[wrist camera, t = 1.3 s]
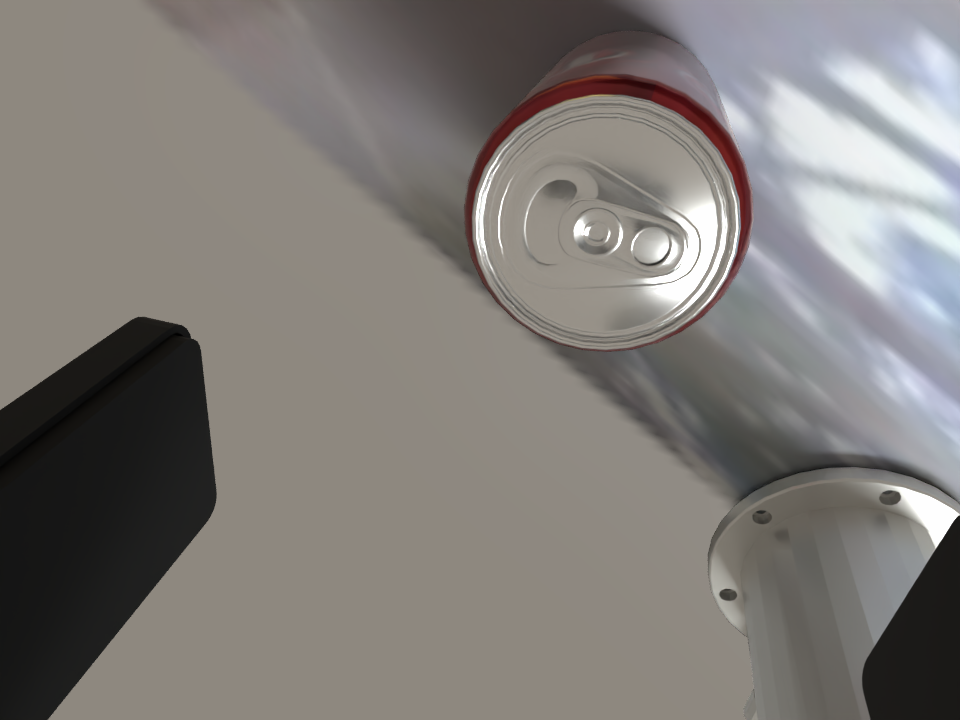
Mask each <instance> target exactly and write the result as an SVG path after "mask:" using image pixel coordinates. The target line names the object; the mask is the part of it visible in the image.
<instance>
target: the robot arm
mask: <svg viewBox="0 0 960 720" xmlns="http://www.w3.org/2000/svg"><path fill="white" fill-rule="evenodd" d="M215 503H216V484H215V475H214V465H213V458H212V447H211V439H210V429H209V420H208V412H207V403H206V393H205V384H204V375H203V365H202V356H201V349H200V345H199V344H198V342H197V341H196V340H194V339H191V336H190V333H189V332H188V330H187V329H186V328H185V327H184V326H182V325H178V324H173V323H169V322H165V321H160V320H156V319H151V318H147V317H137V318H135V319H133V320H131V321H129V322H128V323H126V324H125V325H123V326H122V327H121V328H119V329H118V330H116V331H115V332H113V333H112V334H110V335H109V336H107V337H106V338H105V339H103V340H102V341H100V342H99V343H97V344H96V345H94V346H93V347H91V348H90V349H89V350H87V351H86V352H84V353H83V354H81V355H80V356H78V357H77V358H76V359H74V360H73V361H71V362H70V363H68V364H67V365H65V366H64V367H62V368H61V369H59V370H58V371H57V372H55V373H54V374H52V375H51V376H49V377H48V378H46V379H45V380H43V381H42V382H40V383H39V384H38V385H36V386H35V387H33V388H32V389H30V390H29V391H28V392H26V393H24V394H23V395H22V396H20V397H19V398H17V399H16V400H14V401H13V402H11V403H10V404H8V405H7V406H6V407H4V408H3V409H1V410H0V720H48V718H49V717H50V716H51V715H52V714H53V712H54V711H55V710H56V709H57V707H58V706H59V705H60V704H61V702H62V701H63V700H64V699H65V697H66V696H67V695H68V693H69V692H70V691H71V690H72V688H73V687H74V686H75V685H76V684H77V682H78V681H79V680H80V679H81V678H82V676H83V675H84V674H85V672H86V671H87V670H88V669H89V668H90V666H91V665H92V663H94V661H95V660H96V659H97V658H98V656H99V655H100V654H101V653H102V651H103V650H104V649H105V648H106V646H107V645H108V644H109V643H110V641H111V640H112V639H113V638H114V637H115V635H116V634H117V633H118V632H119V630H120V629H121V628H122V627H123V625H124V624H125V623H126V622H127V620H128V619H129V618H130V617H131V615H132V614H133V613H134V612H135V610H136V609H137V608H138V607H139V606H140V604H141V603H142V602H143V601H144V599H145V598H146V597H147V596H148V594H149V593H150V592H151V591H152V589H153V588H154V587H155V586H156V584H157V583H158V582H159V581H160V580H161V578H162V577H163V576H164V574H165V573H166V572H167V571H168V570H169V568H170V567H171V566H172V565H173V563H174V562H175V561H176V560H177V558H178V557H179V556H180V555H181V553H182V552H183V551H184V549H185V548H186V547H187V546H188V545H189V543H190V542H191V541H192V540H193V538H194V537H195V536H196V535H197V534H198V532H199V531H200V530H201V529H202V527H203V526H204V525H205V524H206V522H207V521H208V519H209V518H210V516H211V514H212V512H213V510H214V507H215ZM708 576H709V582H710V588H711V593H712V595H713V597H714V599H715V602H716V604H717V606H718V608H719V609H720V611H721V612H722V613H723V615H724V616H725V617H726V618H727V620H728V621H729V622H730V623H731V624H732V625H733V626H734V627H735V628H736V629H737V630H739V631H740V632H741V633H742V634H743V635H744V636H746V637H748V644H749V651H750V660H751V668H752V677H753V685H754V689H753V691H752V693H751V695H750V697H749V699H748V700H747V702H746V704H745V706H744V716H745V718H746V720H960V504H959V503H958V502H957V501H955V500H954V499H952V498H951V497H949V496H948V495H946V494H945V493H943V492H942V491H940V490H939V489H938V488H936V487H933V486H931V485H929V484H927V483H924V482H922V481H920V480H917V479H915V478H913V477H909V476H906V475H902V474H898V473H894V472H890V471H886V470H878V469H869V468H860V467H846V468H825V469H819V470H814V471H808V472H802V473H798V474H795V475H792V476H789V477H786V478H783V479H780V480H777V481H774V482H772V483H770V484H768V485H766V486H764V487H762V488H760V489H758V490H756V491H754V492H752V493H751V494H750V495H748V496H747V497H746V498H744V499H743V500H742V501H740V502H739V503H738V504H736V505H735V506H734V507H733V508H732V509H731V511H730V512H729V513H728V514H727V515H726V516H725V517H724V518H723V520H722V521H721V522H720V524H719V526H718V528H717V530H716V531H715V533H714V535H713V537H712V540H711V544H710V548H709V552H708Z"/></svg>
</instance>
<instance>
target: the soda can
mask: <svg viewBox="0 0 960 720" xmlns="http://www.w3.org/2000/svg"><path fill="white" fill-rule="evenodd" d="M464 216H465V234H466V238H467V242H468V246H469V250H470V254H471V258H472V260H473V263H474V265H475V267H476V269H477V271H478V274H479V276H480V278H481V280H482V282H483V284H484V285H485V287H486V288H487V289H488V291H489V292H490V294H491V295H492V296H493V298H494V299H495V301H496V302H497V303H498V304H499V305H500V306H501V307H502V308H503V309H504V310H505V311H506V312H507V313H508V314H509V315H510V316H511V317H512V318H513V319H514V320H516V321H517V322H519V323H520V324H522V325H523V326H525V327H526V328H528V329H529V330H530V331H532V332H533V333H535V334H537V335H539V336H542V337H544V338H546V339H548V340H551V341H553V342H555V343H557V344H561V345H565V346H569V347H573V348H577V349H581V350H590V351H603V352H611V351H622V350H633V349H637V348H640V347H644V346H648V345H651V344H655V343H658V342H661V341H663V340H665V339H667V338H669V337H671V336H673V335H676V334H678V333H680V332H682V331H683V330H685V329H686V328H687V327H689V326H690V325H692V324H693V323H694V322H696V321H697V320H699V319H700V318H701V317H703V316H704V315H705V314H706V313H707V312H708V311H709V310H710V309H711V308H712V307H713V306H714V305H715V304H716V303H717V302H718V301H719V300H720V299H721V298H722V297H723V296H724V294H725V293H726V291H727V290H728V288H729V286H730V285H731V283H732V282H733V280H734V279H735V277H736V276H737V274H738V273H739V270H740V268H741V265H742V263H743V260H744V258H745V255H746V252H747V250H748V247H749V243H750V237H751V231H752V225H753V219H754V216H753V196H752V187H751V184H750V180H749V176H748V173H747V169H746V165H745V162H744V159H743V156H742V154H741V151H740V149H739V146H738V143H737V141H736V138H735V136H734V133H733V130H732V128H731V125H730V123H729V120H728V117H727V115H726V112H725V110H724V107H723V104H722V102H721V99H720V97H719V94H718V91H717V89H716V87H715V85H714V83H713V81H712V79H711V77H710V75H709V73H708V71H707V70H706V69H705V67H704V66H703V65H702V64H701V63H700V62H699V60H698V59H697V58H696V57H695V56H694V55H693V54H692V53H691V52H689V51H688V50H687V49H685V48H684V47H683V46H681V45H680V44H679V43H677V42H675V41H673V40H670V39H668V38H666V37H664V36H661V35H659V34H654V33H649V32H644V31H617V32H612V33H608V34H603V35H599V36H597V37H595V38H593V39H590V40H588V41H586V42H584V43H582V44H580V45H578V46H577V47H576V48H574V49H573V50H571V51H570V52H569V53H567V54H566V55H564V56H563V58H562V59H561V60H560V61H559V62H558V63H557V64H556V65H555V66H554V67H553V68H552V69H551V70H550V71H549V72H548V73H547V74H546V75H545V76H544V77H543V79H542V80H541V81H540V82H539V83H538V84H537V85H536V86H535V87H534V88H533V89H532V90H531V91H530V92H529V93H528V94H527V95H526V96H525V97H524V99H523V100H522V101H521V102H520V103H519V104H518V105H517V106H516V107H515V108H514V109H513V110H512V111H511V112H510V113H509V114H508V115H507V116H506V118H505V119H504V120H503V121H502V122H501V123H500V124H499V125H498V126H497V127H496V128H495V129H494V130H493V131H492V133H491V134H490V136H489V138H488V139H487V141H486V143H485V144H484V146H483V147H482V149H481V151H480V152H479V154H478V156H477V158H476V161H475V164H474V166H473V169H472V172H471V175H470V177H469V180H468V185H467V192H466V198H465V204H464Z"/></svg>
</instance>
